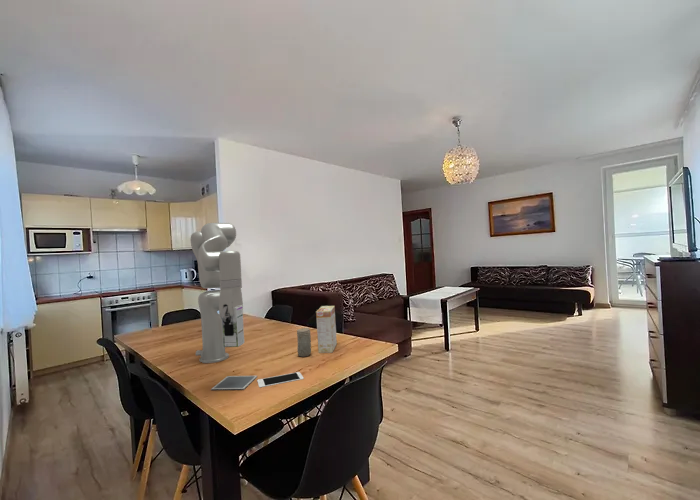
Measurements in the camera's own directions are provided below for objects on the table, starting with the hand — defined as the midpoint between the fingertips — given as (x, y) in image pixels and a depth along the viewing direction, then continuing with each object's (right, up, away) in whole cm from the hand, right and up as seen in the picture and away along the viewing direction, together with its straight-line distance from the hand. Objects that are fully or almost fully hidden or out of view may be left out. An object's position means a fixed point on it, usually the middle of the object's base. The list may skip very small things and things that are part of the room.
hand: (233, 332), depth 120 cm
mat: (+1, -18, -1) cm, 18 cm away
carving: (+22, -18, +29) cm, 41 cm away
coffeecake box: (+32, -17, +38) cm, 53 cm away
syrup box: (0, -5, 0) cm, 5 cm away
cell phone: (+17, -18, +1) cm, 25 cm away
